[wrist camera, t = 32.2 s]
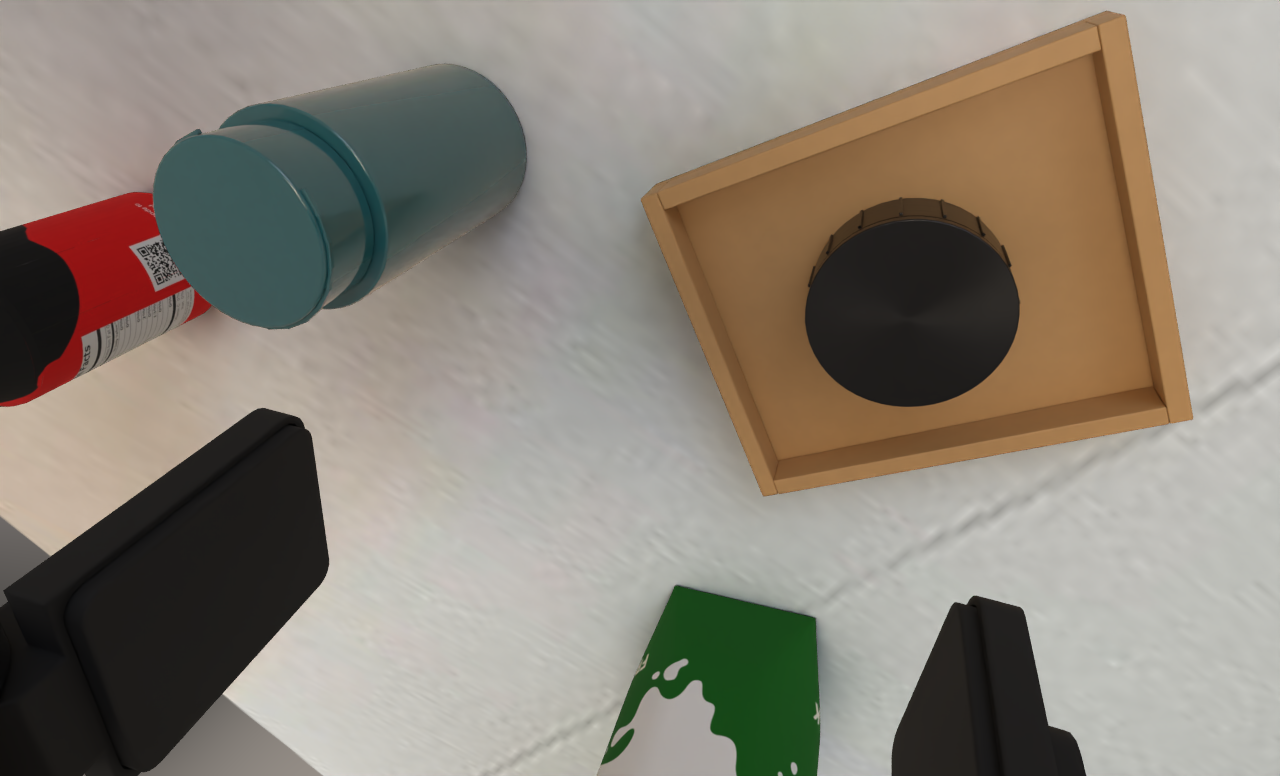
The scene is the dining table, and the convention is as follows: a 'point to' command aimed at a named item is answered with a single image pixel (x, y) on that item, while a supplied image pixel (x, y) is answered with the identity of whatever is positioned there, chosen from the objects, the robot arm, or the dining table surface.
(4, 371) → the beverage can
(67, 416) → the dining table surface
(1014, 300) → the lid
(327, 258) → the jar
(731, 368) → the tray
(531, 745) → the dining table surface
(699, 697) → the milk carton
